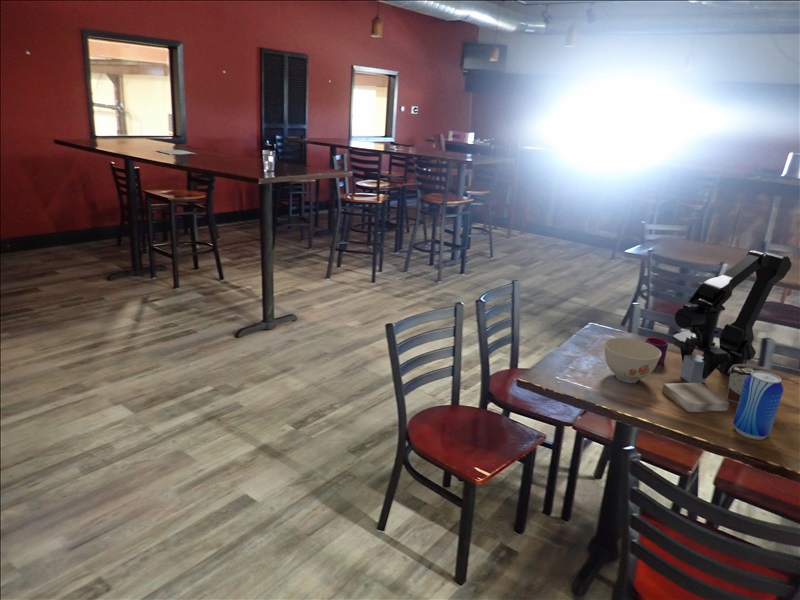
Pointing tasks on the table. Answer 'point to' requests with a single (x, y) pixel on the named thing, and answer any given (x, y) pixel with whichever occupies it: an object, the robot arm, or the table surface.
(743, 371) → the food container
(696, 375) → the slate block
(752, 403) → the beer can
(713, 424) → the table surface
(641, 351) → the bowl
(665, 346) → the mug
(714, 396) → the birch base
